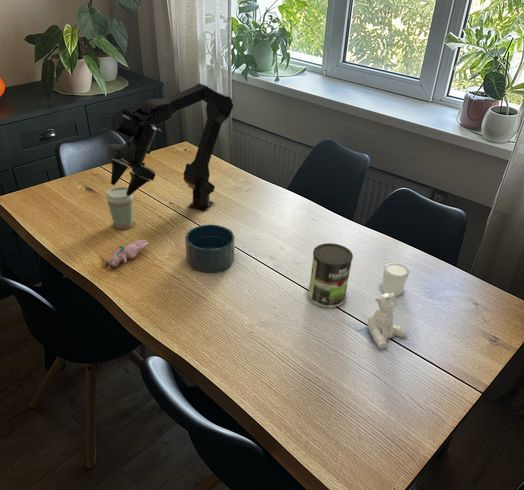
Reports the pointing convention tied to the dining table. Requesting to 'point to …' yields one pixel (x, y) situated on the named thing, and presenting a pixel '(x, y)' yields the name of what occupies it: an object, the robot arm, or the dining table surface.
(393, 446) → the dining table surface
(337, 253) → the coffee can
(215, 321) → the dining table surface
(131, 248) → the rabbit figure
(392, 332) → the seated beast figurine
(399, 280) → the white candle jar
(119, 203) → the coffee cup
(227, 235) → the bowl
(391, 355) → the dining table surface
